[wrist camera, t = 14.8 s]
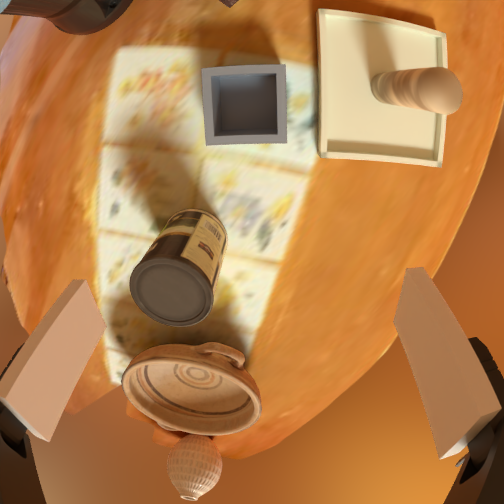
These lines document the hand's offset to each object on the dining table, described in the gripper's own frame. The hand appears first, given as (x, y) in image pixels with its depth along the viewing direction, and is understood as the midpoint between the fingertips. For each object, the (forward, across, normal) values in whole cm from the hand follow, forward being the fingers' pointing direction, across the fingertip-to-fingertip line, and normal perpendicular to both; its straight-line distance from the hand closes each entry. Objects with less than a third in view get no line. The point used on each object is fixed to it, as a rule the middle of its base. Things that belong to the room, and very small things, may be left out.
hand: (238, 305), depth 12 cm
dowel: (+30, +17, +8) cm, 36 cm away
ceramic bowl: (+32, -17, -44) cm, 57 cm away
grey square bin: (+32, -1, +6) cm, 32 cm away
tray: (+32, +17, +8) cm, 37 cm away
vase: (+31, -25, -82) cm, 91 cm away
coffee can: (+32, -11, -13) cm, 36 cm away
